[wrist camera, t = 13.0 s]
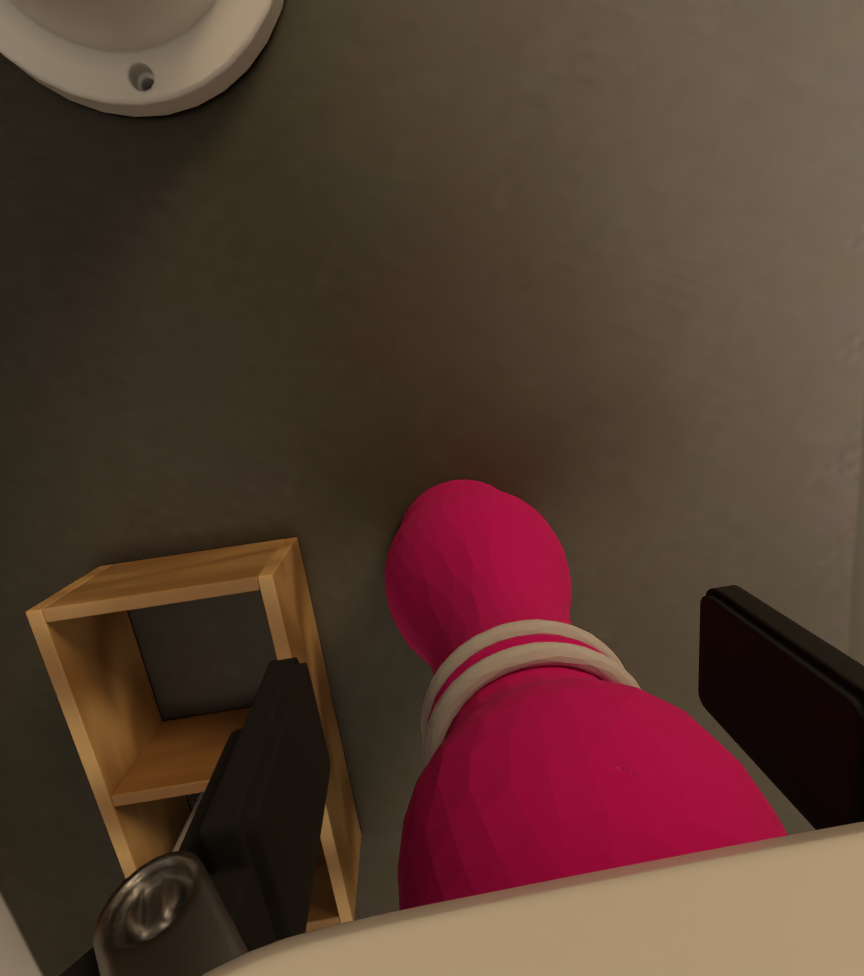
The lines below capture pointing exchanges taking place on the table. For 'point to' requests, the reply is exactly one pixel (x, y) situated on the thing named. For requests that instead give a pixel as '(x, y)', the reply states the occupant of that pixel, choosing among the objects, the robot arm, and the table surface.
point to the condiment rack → (193, 740)
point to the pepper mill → (537, 719)
